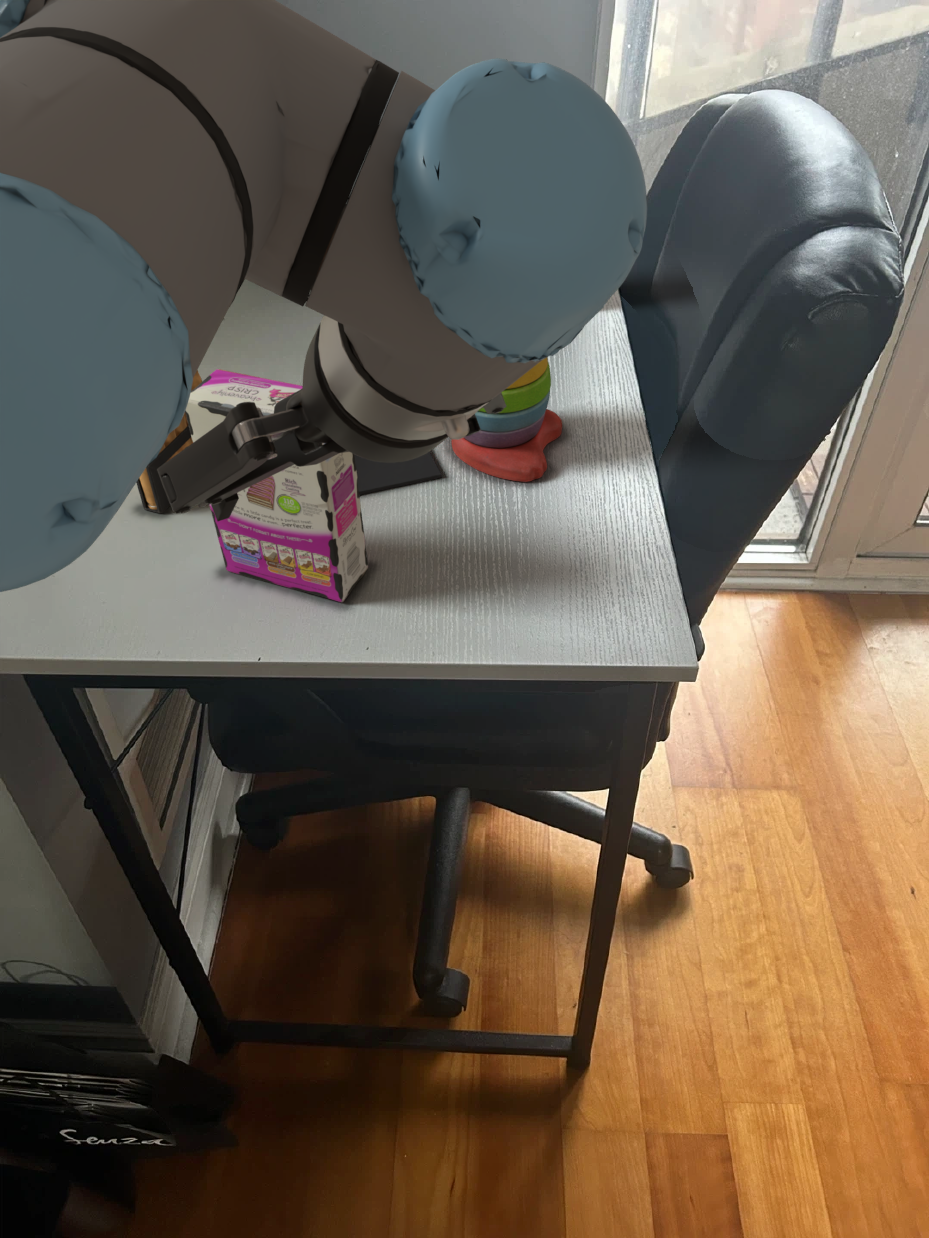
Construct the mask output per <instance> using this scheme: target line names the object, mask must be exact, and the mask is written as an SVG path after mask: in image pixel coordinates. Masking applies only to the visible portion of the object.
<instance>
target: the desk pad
mask: <svg viewBox="0 0 929 1238" xmlns="http://www.w3.org/2000/svg"><path fill="white" fill-rule="evenodd" d="M354 455H355V454H354ZM355 463H356V471H357V481H358V488H359V496H361V495H367V494H372V493H376V492H381V491H386V490H390V489H395V488H400V487H404V486H409V485H413V484H418V483H423V482H427V481H433V480H438V479H442V473H441V470H440V469H439V467H438V465H437V463H436V462H435V459H434V457H433V456H432V454H431V451H430V452H428V453H427V454H426V455H422V456H420V457H418V458H415V459H412V460H408V461H403V462H395V463H386V462H377V461H372V460H368V459H365V458H362V457H359V456H357V455H355Z"/></svg>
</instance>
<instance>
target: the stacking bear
mask: <svg viewBox="0 0 929 1238" xmlns="http://www.w3.org/2000/svg"><path fill="white" fill-rule="evenodd" d="M551 375H552V374H551V367H550V362H549V359H548V357H547V358H545V359H543V360H542V361H541V362H539V363H538V364H537V365H535V366H534V367H533V368H532V369H530V370H529V371H528V372H527V373H525V374H524V375H523V376H522V377H520V378H519V379H518V380H516V381H515V382H514V383H513V384H511V385H510V386H509V387H508V388H506V389H505V390H504V391H503V392H501V393H502V395H503V398H504V401H505V404H506V407H505V408H504V410H502V411H501V412H499V413H497V414H494V413H491V414H487V412H486V411H485V409H484V408H481V409H479V410H478V411H477V412H476V413H475V415H476V418H477V421H478V423H479V426H480V429H481V430H480V431H479V432H477V433H475V434H472V435H469V436H466V437H463V438H461V439H459V440H456V439H451V448H452V451H453V452H454V454H455V456H457V458H458V459H460V460H461V461H462V462H463V463H465V464H466V465H468V466H470V467H471V468H473V469H475V470H477V471H479V472H482V473H484V474H487V475H488V476H493V477H495V478H499V479H503V480H509V481H513V482H514V481H515V482H522V483H523V482H526V483H527V482H533V481H534V480H537V479H540V478H542V477H543V476H544V473H545V472H546V471H547V469H548V463H547V459H546V455H545V453H544V450H545V448H546V446H547V445H549V443H551V442H553V441H555V440H557V439H558V438H559V437H560V436H561V435H562V432H563V431H562V430H563V420H562V418H561V417H560V415H558V414H557V413H556V412H555V411H554V410H551V409H548V405H549V402H550V397H551V388H552V376H551Z"/></svg>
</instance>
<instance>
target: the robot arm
mask: <svg viewBox="0 0 929 1238" xmlns="http://www.w3.org/2000/svg"><path fill="white" fill-rule="evenodd" d="M638 154H639V153H638V151H637V149H636V146H635V144H634V142H633V140H632V138H631V135H630V134H629V132H628V130H627V128H626V126H625V125H624V124H623V122H622V121H621V119H620V118H619V116H618V115H617V114H616V112H615V111H614V110H613V108H612V107H611V106H610V105H609V103H607V101H606V100H605V99H604V98H603V97H602V96H601V95H600V94H599V93H598V92H597V91H596V90H594V88H592V87H591V86H590V85H588V84H587V83H586V82H585V81H583V80H582V79H581V78H579V77H577V76H576V75H574V74H573V73H571V72H569V71H567V70H565V69H563V68H561V67H559V66H556V65H554V64H551V63H549V62H545V61H543V62H541V61H540V62H525V61H514V60H513V61H512V60H511V61H510V60H508V59H506V58H498V57H496V58H495V57H494V58H490V59H485V60H482V61H479V62H476V63H473V64H470V65H468V66H466V67H464V68H462V69H460V70H459V71H457V72H455V73H454V74H453V75H451V76H450V77H448V79H447V80H445V81H444V82H443V83H442V84H441V85H440V86H439V87H438V88H437V89H433V88H432V87H430V86H428V85H427V84H426V83H424V82H422V81H420V80H419V79H418V78H415V77H413V76H412V75H410V74H409V73H408V72H405V71H403V70H401V71H400V72H399V71H397V70H395V69H394V68H392V67H391V66H389V65H387V64H385V63H384V62H382V61H380V60H378V59H376V58H375V57H372V56H371V55H370V54H367V53H366V52H365V51H362V50H360V49H359V48H357V47H356V46H354V45H353V44H351V43H348V42H347V41H345V40H343V39H342V38H341V37H338V36H337V35H335V34H334V33H332V32H330V31H328V30H326V29H325V28H323V27H321V26H320V25H318V24H317V23H315V22H313V21H312V20H309V19H308V18H306V17H305V16H303V15H301V14H299V13H298V12H296V11H294V10H292V9H291V8H290V7H287V6H286V5H284V4H283V3H281V2H279V1H278V0H0V593H3V592H7V591H12V590H16V589H19V588H20V589H21V588H23V587H27V586H29V585H31V584H32V585H33V584H35V583H37V582H40V581H43V580H46V579H47V578H50V577H51V576H52V575H54V574H56V573H58V572H60V571H61V570H63V569H65V568H66V567H68V566H70V565H71V564H73V563H74V562H75V561H76V560H77V559H78V558H80V557H81V556H82V555H84V554H85V553H86V552H87V551H88V549H90V547H91V546H92V545H93V544H94V543H95V542H96V541H97V539H98V538H99V537H100V536H101V534H103V532H104V531H105V529H106V528H107V527H108V525H109V524H110V522H111V521H112V520H113V518H114V516H115V515H116V514H117V513H118V511H119V510H120V508H121V507H122V505H123V504H124V502H125V501H126V499H127V498H128V496H129V494H130V493H131V492H132V490H133V488H134V487H135V485H137V483H136V482H137V481H138V479H139V477H140V476H141V474H142V473H143V471H144V470H145V468H146V467H147V465H148V464H150V463H151V462H152V461H153V460H154V459H156V458H157V456H158V454H159V452H160V450H161V448H162V446H163V444H164V442H165V441H166V439H167V437H168V435H169V433H171V432H172V431H173V430H174V429H176V428H177V427H178V426H179V425H180V422H181V420H182V418H183V415H184V413H185V411H186V407H187V404H188V401H189V397H190V393H191V388H192V383H193V377H194V375H195V373H196V371H197V370H198V369H199V367H200V365H201V363H202V362H203V360H204V358H205V356H206V353H207V351H208V350H209V348H210V346H211V344H212V342H213V340H214V338H215V336H216V335H217V332H218V331H219V329H220V326H221V325H222V322H223V321H224V319H225V317H226V314H227V313H228V311H229V309H230V307H231V305H232V304H233V302H234V301H235V298H236V297H237V294H238V292H239V291H240V289H241V287H242V286H243V283H244V282H245V280H246V281H248V282H250V283H252V284H255V285H257V286H259V287H260V288H263V289H265V290H267V291H269V292H271V293H272V294H273V293H274V294H275V295H278V296H280V297H282V298H284V299H287V300H288V301H290V302H292V303H295V304H296V305H299V306H301V307H304V306H305V307H306V308H308V309H310V310H312V311H314V312H317V313H319V314H321V315H323V316H322V318H321V320H320V323H319V324H318V326H317V329H316V331H315V333H314V335H313V336H312V339H311V341H310V343H309V345H308V348H307V351H306V354H305V359H304V363H303V372H302V386H303V387H302V389H301V390H299V391H297V392H295V393H293V394H292V395H290V396H288V397H286V398H284V399H282V400H281V401H279V402H278V403H276V405H275V407H274V414H270V415H267V416H263V414H262V411H261V409H260V408H257V407H256V404H255V403H254V402H242V403H239V404H237V405H236V407H234V408H232V409H231V410H230V411H229V413H228V414H227V416H226V418H225V419H224V421H223V422H221V423H220V424H219V425H217V426H216V427H214V428H213V429H212V430H210V431H209V432H207V433H206V434H205V435H203V436H202V437H200V438H199V439H198V440H196V441H195V442H194V443H192V444H191V445H189V446H187V447H186V448H185V449H184V450H182V451H181V452H180V453H178V454H177V455H176V456H174V457H173V458H171V459H170V460H169V461H167V462H166V463H164V464H163V465H162V466H160V467H159V468H158V469H157V471H158V474H159V476H160V479H161V482H162V485H163V487H164V490H165V492H166V495H167V497H168V500H169V503H170V507H171V510H172V513H174V514H185V513H188V512H190V511H191V509H193V508H195V507H196V506H198V507H199V508H203V507H206V506H207V507H208V506H210V504H211V506H212V508H213V511H214V514H215V516H216V519H217V521H221V520H224V519H227V518H229V517H230V515H231V513H232V511H233V509H234V507H235V505H236V503H237V501H238V499H239V497H238V494H237V493H238V492H240V491H242V490H244V489H246V488H248V487H250V486H252V485H254V484H256V483H258V482H260V481H262V480H264V479H266V478H268V477H270V476H272V475H274V474H276V473H278V472H280V471H282V470H284V469H286V468H288V467H290V466H292V465H294V464H295V465H296V466H299V467H302V466H309V465H316V464H319V463H321V462H323V461H325V460H327V459H329V458H331V457H333V456H335V455H337V454H339V453H344V452H351V453H353V454H355V455H357V456H359V457H362V458H365V459H368V460H372V461H377V462H386V463H395V462H403V461H408V460H412V459H415V458H418V457H420V456H422V455H426V454H427V453H428V452H430V453H431V451H433V450H434V449H435V448H437V447H438V446H439V445H441V444H442V443H443V442H444V441H445V440H447V439H448V438H449V439H450V440H452V439H456V440H459V439H461V438H463V437H466V436H469V435H472V434H475V433H477V432H479V431H480V430H481V429H480V426H479V423H478V421H477V418H476V415H475V413H476V412H477V411H478V410H479V409H481V408H484V409H485V411H486V412H487V414H491V413H494V414H497V413H499V412H501V411H502V410H504V408H505V407H506V404H505V401H504V398H503V395H502V393H501V392H503V391H504V390H505V389H506V388H508V387H509V386H510V385H511V384H513V383H514V382H515V381H516V380H518V379H519V378H520V377H522V376H523V375H524V374H525V373H527V372H528V371H529V370H530V369H532V368H533V367H534V366H535V365H537V364H538V363H539V362H541V361H542V360H543V359H545V358H548V357H553V356H555V355H556V354H558V353H559V352H560V351H561V350H562V349H564V348H566V347H568V346H569V345H570V344H572V342H574V340H575V339H576V338H577V337H578V335H579V334H580V333H581V332H582V331H583V329H584V328H585V327H586V325H587V324H588V323H589V322H590V321H591V320H592V319H593V318H594V317H595V316H597V314H598V313H599V312H600V311H601V310H603V309H604V307H605V306H606V304H607V302H608V301H609V300H610V299H611V298H612V296H613V295H614V294H615V293H616V292H617V291H618V290H619V289H620V288H621V287H622V285H623V284H624V282H625V281H626V279H627V277H628V276H629V274H630V272H631V271H632V268H633V266H634V265H635V263H636V261H637V259H638V257H639V256H640V254H641V251H642V248H643V240H644V236H645V232H646V228H647V227H646V226H647V218H648V195H647V186H646V185H647V184H646V180H645V175H644V169H643V166H642V162H641V159H640V157H639V155H638ZM345 205H346V206H345ZM344 207H345V209H344ZM343 209H344V211H343ZM342 212H343V214H342ZM341 214H342V216H341ZM340 216H341V218H340ZM339 219H340V221H339ZM338 221H339V223H338ZM337 224H338V226H337ZM336 226H337V228H336ZM335 229H336V231H335ZM334 231H335V233H334ZM333 234H334V236H333ZM332 236H333V238H332ZM331 238H332V240H331ZM330 241H331V243H330ZM329 243H330V245H329ZM328 246H329V248H328ZM327 248H328V250H327ZM326 251H327V253H326ZM325 253H326V255H325ZM324 256H325V258H324ZM323 258H324V260H323ZM322 261H323V262H322ZM321 263H322V265H321ZM320 266H321V267H320ZM319 268H320V270H319ZM318 270H319V272H318ZM317 273H318V275H317ZM316 275H317V277H316ZM315 278H316V280H315ZM314 280H315V282H314ZM313 283H314V285H313ZM312 285H313V287H312ZM311 287H312V290H311ZM313 442H315V443H326V444H324V445H322V446H320V447H318V448H315V445H314V443H313Z"/></svg>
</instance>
